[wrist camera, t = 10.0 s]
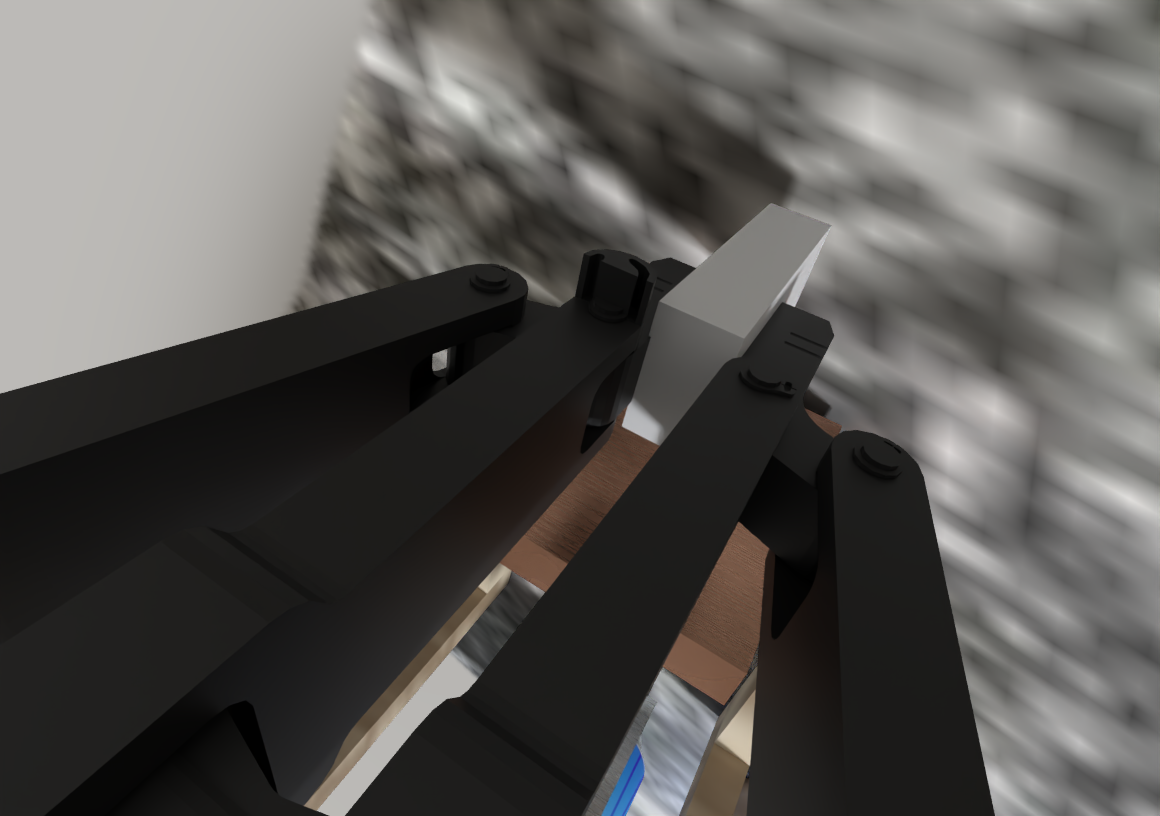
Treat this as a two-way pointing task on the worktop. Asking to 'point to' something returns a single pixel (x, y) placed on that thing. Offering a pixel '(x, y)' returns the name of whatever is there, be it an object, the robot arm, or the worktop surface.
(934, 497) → the worktop surface
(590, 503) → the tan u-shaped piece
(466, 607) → the wooden open frame
